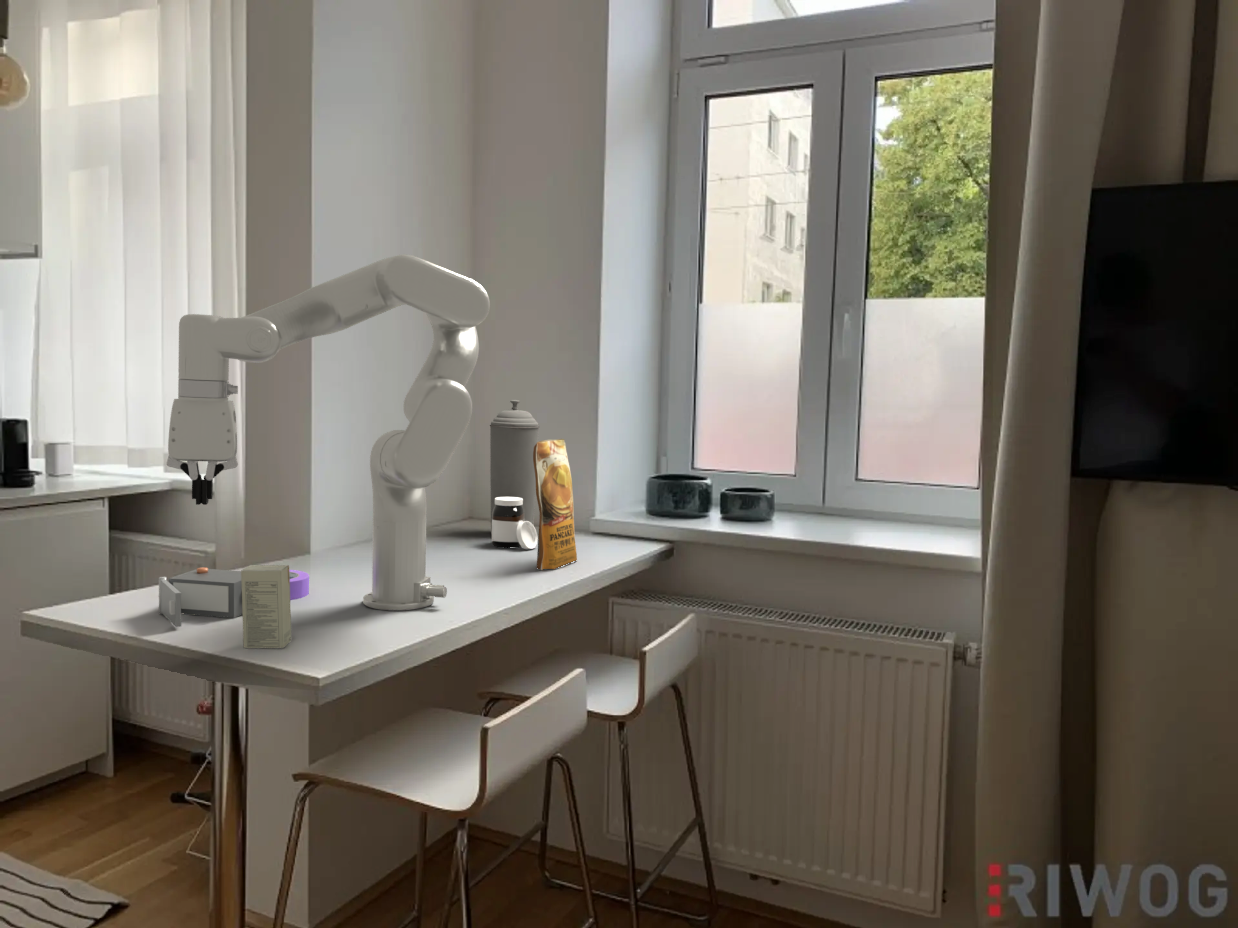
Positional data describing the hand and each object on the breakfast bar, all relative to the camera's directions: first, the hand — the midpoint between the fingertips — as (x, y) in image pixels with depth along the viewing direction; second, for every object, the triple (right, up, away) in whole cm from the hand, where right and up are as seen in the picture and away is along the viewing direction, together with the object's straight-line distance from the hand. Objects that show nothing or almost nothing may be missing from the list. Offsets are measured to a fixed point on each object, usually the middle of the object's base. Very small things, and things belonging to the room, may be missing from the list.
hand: (202, 503), depth 163 cm
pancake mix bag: (+54, -16, +59) cm, 82 cm away
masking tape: (+4, -18, +23) cm, 29 cm away
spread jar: (+43, -14, +79) cm, 91 cm away
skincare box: (+14, -22, -10) cm, 28 cm away
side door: (-6, -19, +1) cm, 20 cm away
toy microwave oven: (-2, -19, +10) cm, 21 cm away
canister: (+40, -12, +96) cm, 105 cm away
